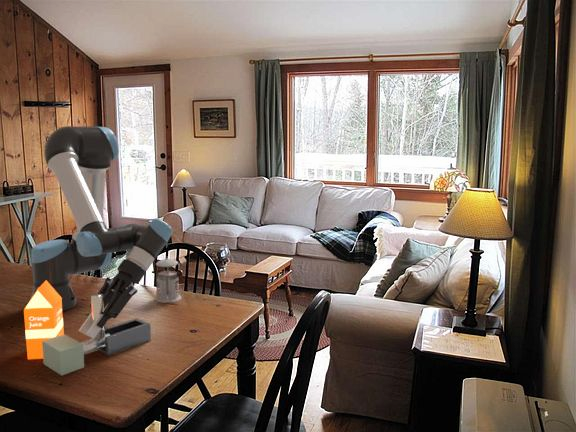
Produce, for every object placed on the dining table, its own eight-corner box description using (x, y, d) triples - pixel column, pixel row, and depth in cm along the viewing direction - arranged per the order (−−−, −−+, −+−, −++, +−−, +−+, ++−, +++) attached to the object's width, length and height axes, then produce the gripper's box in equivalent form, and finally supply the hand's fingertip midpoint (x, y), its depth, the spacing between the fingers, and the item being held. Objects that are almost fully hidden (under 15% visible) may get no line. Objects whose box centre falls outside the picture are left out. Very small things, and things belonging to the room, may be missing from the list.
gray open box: (136, 333, 158) (136, 318, 157) (150, 340, 153) (150, 323, 152) (94, 348, 147) (93, 331, 146) (108, 355, 142) (107, 338, 141)
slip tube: (106, 343, 147) (103, 291, 145) (112, 347, 145) (110, 294, 143) (59, 359, 137) (55, 304, 134) (65, 363, 135) (61, 307, 132)
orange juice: (27, 359, 140) (21, 290, 136) (37, 346, 148) (32, 280, 145) (57, 357, 141) (52, 288, 137) (65, 344, 149) (61, 279, 146)
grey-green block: (65, 356, 142) (64, 334, 141) (84, 367, 135) (82, 344, 134) (43, 364, 137) (41, 341, 136) (61, 375, 131) (60, 351, 130)
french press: (182, 293, 197) (180, 230, 193) (180, 303, 185) (179, 237, 181) (156, 294, 195) (153, 231, 191) (153, 304, 184) (151, 237, 180)
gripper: (159, 277, 147) (111, 349, 138) (127, 267, 158) (80, 333, 148) (143, 263, 142) (92, 336, 133) (111, 253, 153) (61, 321, 143)
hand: (86, 334), depth 140 cm, fingers closed on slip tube, 3 cm apart
